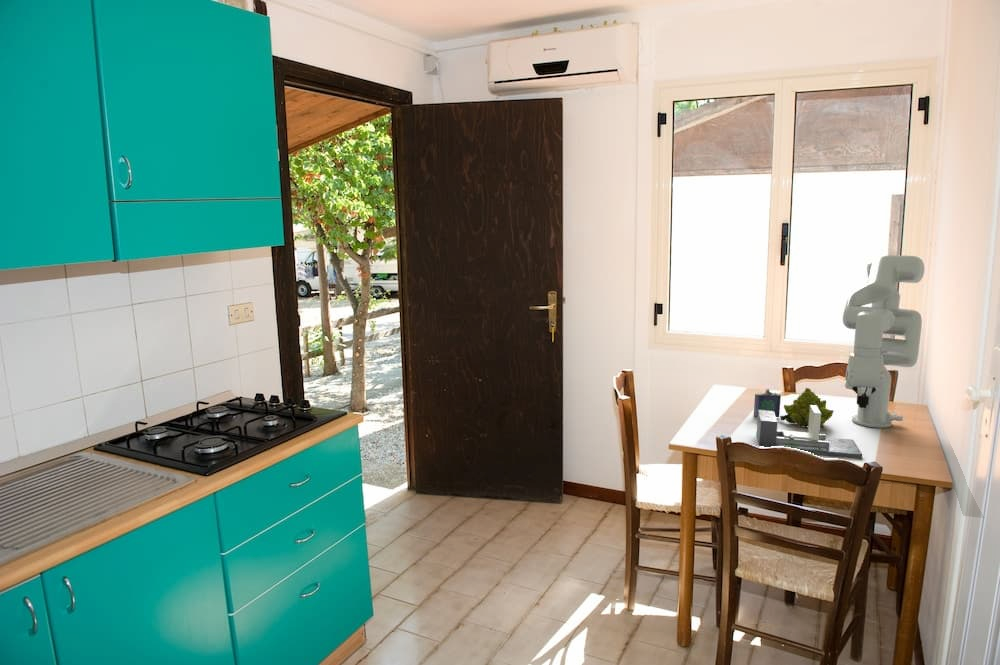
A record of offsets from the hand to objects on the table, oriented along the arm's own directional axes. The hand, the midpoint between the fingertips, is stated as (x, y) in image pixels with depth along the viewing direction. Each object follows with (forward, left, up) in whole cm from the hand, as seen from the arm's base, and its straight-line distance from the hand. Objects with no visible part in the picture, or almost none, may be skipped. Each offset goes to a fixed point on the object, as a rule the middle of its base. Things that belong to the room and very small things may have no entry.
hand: (862, 406), depth 211 cm
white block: (+18, +2, -13) cm, 22 cm away
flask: (+25, -29, -15) cm, 41 cm away
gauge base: (+15, +1, -15) cm, 21 cm away
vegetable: (+12, -22, -15) cm, 29 cm away
